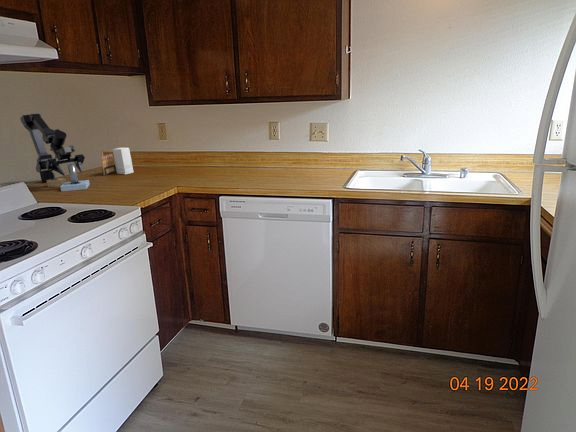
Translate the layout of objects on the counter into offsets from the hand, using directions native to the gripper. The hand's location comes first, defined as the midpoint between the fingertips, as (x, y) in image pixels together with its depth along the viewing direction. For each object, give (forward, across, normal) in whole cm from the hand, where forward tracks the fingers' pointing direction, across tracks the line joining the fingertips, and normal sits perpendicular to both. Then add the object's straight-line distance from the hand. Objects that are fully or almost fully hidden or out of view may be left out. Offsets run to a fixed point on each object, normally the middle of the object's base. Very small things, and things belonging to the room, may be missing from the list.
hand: (73, 173), depth 222 cm
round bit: (+6, 0, +5) cm, 8 cm away
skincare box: (-3, +36, +15) cm, 39 cm away
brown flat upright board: (-8, +31, +20) cm, 38 cm away
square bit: (-5, -3, +16) cm, 18 cm away
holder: (+6, 0, +5) cm, 8 cm away
